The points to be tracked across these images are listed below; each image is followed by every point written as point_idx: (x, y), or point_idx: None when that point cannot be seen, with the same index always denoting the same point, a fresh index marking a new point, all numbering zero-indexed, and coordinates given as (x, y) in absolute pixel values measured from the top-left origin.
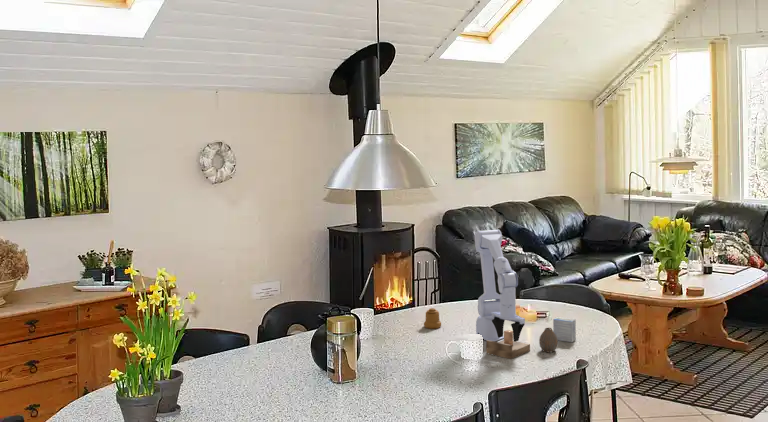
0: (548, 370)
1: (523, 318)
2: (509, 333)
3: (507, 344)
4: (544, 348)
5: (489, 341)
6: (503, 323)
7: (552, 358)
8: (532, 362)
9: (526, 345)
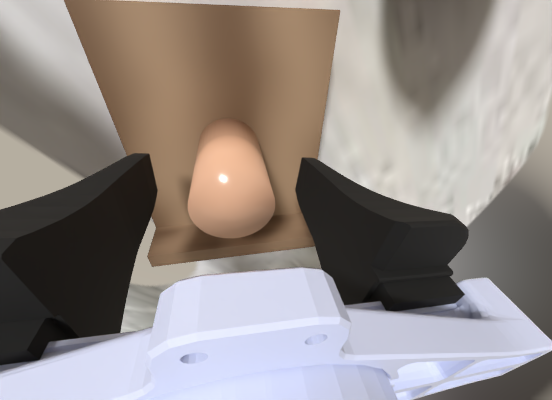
0: (456, 206)
1: (529, 346)
2: (263, 221)
3: (291, 242)
4: None
5: (176, 263)
6: (85, 216)
7: (474, 73)
8: (391, 180)
9: (328, 64)
